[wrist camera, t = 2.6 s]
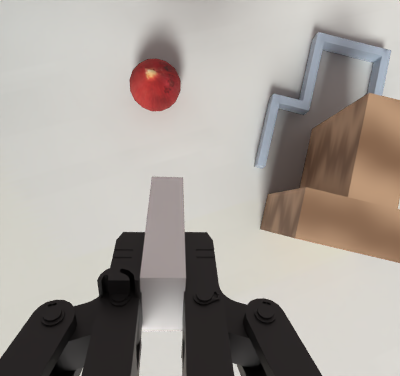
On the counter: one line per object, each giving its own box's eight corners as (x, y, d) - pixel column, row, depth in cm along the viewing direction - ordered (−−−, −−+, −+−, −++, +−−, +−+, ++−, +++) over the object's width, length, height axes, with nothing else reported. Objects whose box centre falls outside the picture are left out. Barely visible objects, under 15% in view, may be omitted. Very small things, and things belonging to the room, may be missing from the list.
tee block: (283, 121, 45) (328, 82, 31) (373, 144, 45) (458, 114, 31) (260, 229, 44) (295, 238, 30) (352, 250, 44) (429, 269, 30)
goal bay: (284, 32, 46) (289, 24, 44) (409, 64, 46) (419, 57, 44) (254, 166, 44) (257, 164, 42) (383, 197, 45) (392, 197, 43)
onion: (168, 66, 45) (164, 34, 37) (188, 106, 45) (189, 83, 37) (127, 85, 44) (114, 58, 36) (147, 125, 44) (138, 107, 36)
